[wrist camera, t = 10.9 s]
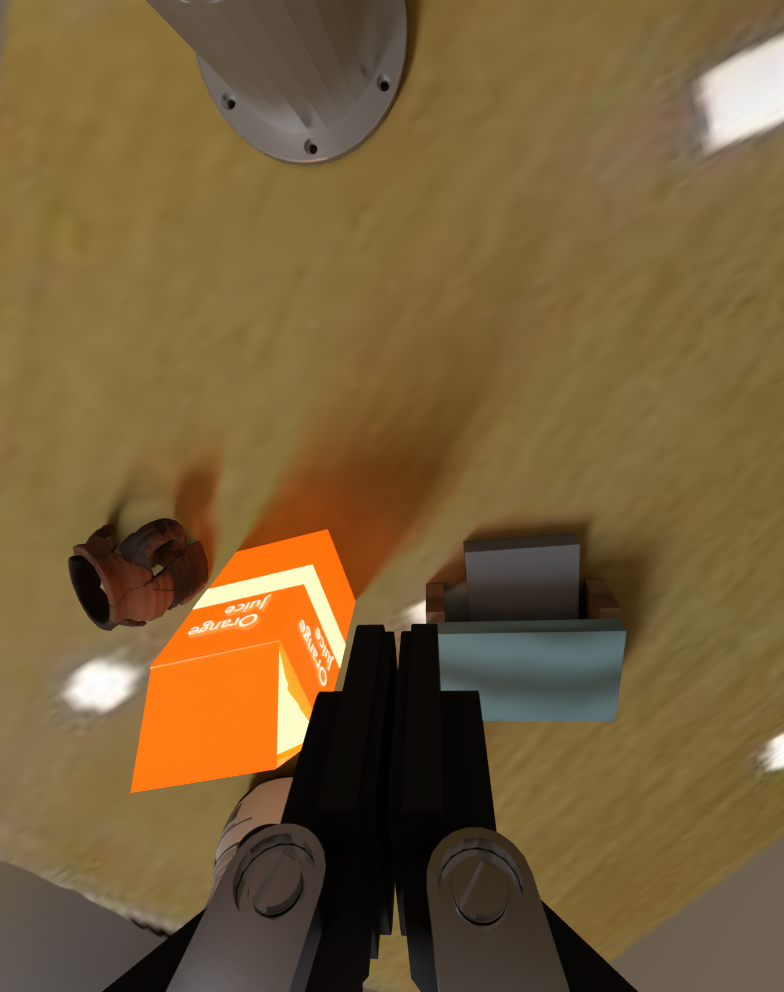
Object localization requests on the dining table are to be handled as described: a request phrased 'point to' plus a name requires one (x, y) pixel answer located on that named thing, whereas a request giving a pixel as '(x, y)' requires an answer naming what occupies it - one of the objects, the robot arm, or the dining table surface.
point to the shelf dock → (536, 660)
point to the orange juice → (246, 666)
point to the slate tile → (523, 578)
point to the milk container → (251, 823)
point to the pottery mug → (137, 574)
